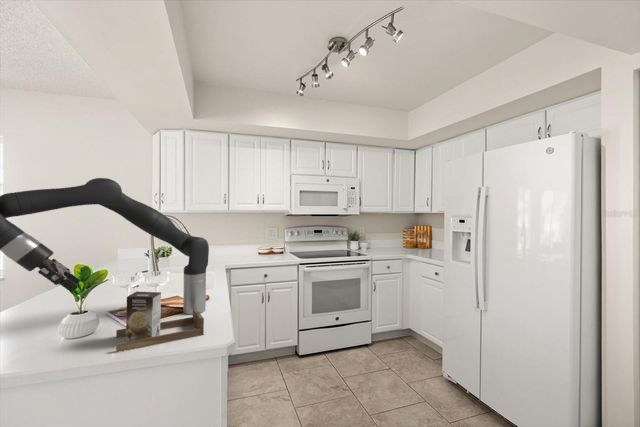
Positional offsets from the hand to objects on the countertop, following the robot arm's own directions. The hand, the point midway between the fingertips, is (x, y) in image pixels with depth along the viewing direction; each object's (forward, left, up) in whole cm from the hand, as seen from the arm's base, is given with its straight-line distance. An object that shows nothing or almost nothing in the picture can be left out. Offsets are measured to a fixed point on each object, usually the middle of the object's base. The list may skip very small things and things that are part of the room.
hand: (76, 286), depth 96 cm
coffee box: (0, +19, -21) cm, 28 cm away
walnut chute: (0, +23, -21) cm, 32 cm away
